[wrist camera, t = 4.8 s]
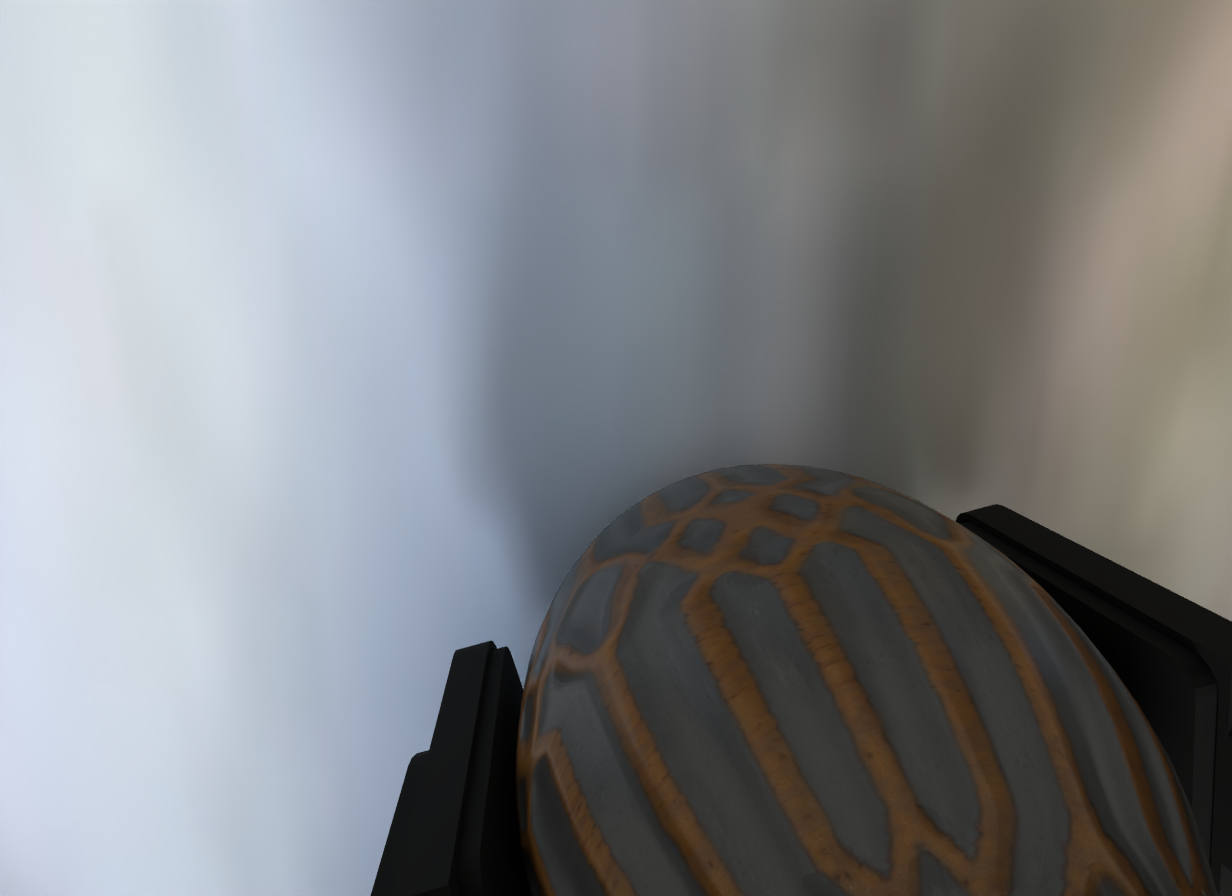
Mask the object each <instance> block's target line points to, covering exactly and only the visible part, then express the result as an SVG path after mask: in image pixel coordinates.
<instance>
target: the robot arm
mask: <svg viewBox="0 0 1232 896" xmlns="http://www.w3.org/2000/svg"><path fill="white" fill-rule="evenodd" d="M956 522H957V523H959V524H961V525H962V526H964V527H965V528H967V529H968V530H970V531H971V532H972V533H974V534H975V535H977V536H978V537H980V538H981V539H983V540H984V541H986V542H987V543H989V544H990V545H991V546H993V547H994V548H996V549H997V550H999V551H1000V552H1002V553H1003V554H1004V555H1006V556H1007V557H1008V558H1009V559H1010V560H1012V561H1013V562H1014V563H1015V564H1016V565H1017V566H1019V567H1020V568H1021V569H1022V570H1023V571H1024V572H1025V573H1027V574H1028V575H1029V576H1030V577H1031V578H1032V579H1033V580H1034V581H1035V582H1037V583H1038V584H1039V585H1040V586H1041V587H1042V588H1043V589H1044V590H1045V591H1046V592H1047V593H1048V594H1049V595H1050V596H1051V597H1052V598H1053V599H1054V600H1055V601H1056V602H1057V603H1058V604H1059V605H1060V606H1061V608H1062V609H1063V610H1064V611H1065V612H1066V613H1067V614H1068V615H1069V616H1070V617H1071V618H1072V619H1073V621H1074V622H1075V623H1076V624H1077V625H1078V626H1079V627H1080V628H1081V629H1082V631H1083V632H1084V633H1085V634H1086V636H1087V637H1088V638H1089V639H1090V641H1091V642H1092V643H1093V644H1094V646H1095V647H1096V648H1097V649H1098V650H1099V652H1100V653H1101V654H1102V655H1103V657H1104V658H1105V659H1106V660H1107V662H1108V663H1109V664H1110V666H1111V667H1112V668H1113V669H1114V671H1115V672H1116V673H1117V675H1118V676H1119V678H1120V679H1121V680H1122V682H1123V683H1124V685H1125V686H1126V688H1127V689H1128V690H1129V692H1130V693H1131V695H1132V696H1133V698H1134V699H1135V700H1136V702H1137V703H1138V705H1139V706H1140V708H1141V710H1142V711H1143V713H1144V714H1145V716H1146V718H1147V719H1148V721H1149V723H1150V724H1151V726H1152V728H1153V730H1154V731H1155V733H1156V735H1157V737H1158V738H1159V740H1160V742H1161V743H1162V745H1163V747H1164V749H1165V750H1166V752H1167V754H1168V756H1169V758H1170V760H1171V762H1172V765H1173V767H1174V769H1175V771H1176V773H1177V776H1178V778H1179V780H1180V783H1181V785H1182V787H1183V790H1184V792H1185V794H1186V797H1187V799H1188V801H1189V804H1190V806H1191V809H1192V812H1193V815H1194V818H1195V821H1196V824H1197V827H1198V830H1199V833H1200V836H1201V839H1202V843H1203V846H1204V849H1205V852H1206V855H1207V858H1208V862H1209V865H1210V868H1211V872H1212V876H1213V879H1214V883H1215V886H1216V890H1217V893H1218V896H1232V622H1231V621H1229V620H1227V619H1225V618H1223V617H1221V616H1219V615H1217V614H1216V613H1214V612H1212V611H1210V610H1208V609H1206V608H1204V607H1202V606H1200V605H1198V604H1196V603H1194V602H1192V601H1190V600H1188V599H1186V598H1184V597H1182V596H1180V595H1178V594H1176V593H1174V592H1172V591H1170V590H1168V589H1166V588H1164V587H1162V586H1160V585H1158V584H1156V583H1154V582H1152V581H1150V580H1148V579H1146V578H1144V577H1142V576H1140V575H1139V574H1137V573H1135V572H1133V571H1131V570H1129V569H1127V568H1125V567H1123V566H1121V565H1119V564H1117V563H1115V562H1113V561H1111V560H1109V559H1107V558H1105V557H1103V556H1101V555H1099V554H1097V553H1095V552H1093V551H1091V550H1089V549H1087V548H1085V547H1083V546H1081V545H1079V544H1077V543H1075V542H1073V541H1071V540H1069V539H1067V538H1065V537H1063V536H1061V535H1060V534H1058V533H1056V532H1054V531H1052V530H1050V529H1048V528H1046V527H1044V526H1042V525H1040V524H1038V523H1036V522H1034V521H1032V520H1030V519H1028V518H1026V517H1024V516H1022V515H1020V514H1018V513H1016V512H1014V511H1012V510H1010V509H1008V508H1006V507H1004V506H1002V505H998V504H996V505H991V506H987V507H983V508H980V509H976V510H972V511H968V512H965V513H961V514H960V515H959V516H958V517H957V519H956ZM522 696H523V688H522V685H521V682H520V679H519V676H518V673H517V670H516V667H515V664H514V661H513V658H512V655H511V652H510V650H509V648H508V647H507V646H506V647H502V648H499V649H497V647H496V645H495V644H494V642H493V641H488V642H484V643H481V644H477V645H473V646H470V647H466V648H462V649H459V650H456V651H455V653H454V655H453V659H452V663H451V667H450V671H449V675H448V679H447V683H446V687H445V691H444V695H443V699H442V702H441V706H440V710H439V714H438V718H437V722H436V726H435V730H434V734H433V738H432V742H431V746H430V749H429V750H428V751H424V752H420V753H417V754H416V755H414V756H413V757H412V759H411V761H410V763H409V766H408V769H407V772H406V776H405V779H404V783H403V786H402V790H401V793H400V796H399V800H398V803H397V807H396V810H395V814H394V817H393V821H392V824H391V827H390V831H389V834H388V838H387V841H386V845H385V848H384V852H383V855H382V858H381V862H380V865H379V869H378V872H377V876H376V879H375V883H374V886H373V890H372V893H371V896H531V894H530V889H529V885H528V880H527V875H526V871H525V866H524V861H523V856H522V851H521V844H520V835H519V827H518V818H517V808H516V746H517V735H518V725H519V717H520V708H521V701H522Z"/></svg>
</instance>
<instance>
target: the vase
mask: <svg viewBox="0 0 1232 896" xmlns="http://www.w3.org/2000/svg"><path fill="white" fill-rule="evenodd" d="M516 808H517V818H518V827H519V835H520V844H521V851H522V856H523V861H524V866H525V871H526V875H527V880H528V885H529V889H530V894H531V896H1218V893H1217V890H1216V886H1215V883H1214V879H1213V876H1212V872H1211V868H1210V865H1209V862H1208V858H1207V855H1206V852H1205V849H1204V846H1203V843H1202V839H1201V836H1200V833H1199V830H1198V827H1197V824H1196V821H1195V818H1194V815H1193V812H1192V809H1191V806H1190V804H1189V801H1188V799H1187V797H1186V794H1185V792H1184V790H1183V787H1182V785H1181V783H1180V780H1179V778H1178V776H1177V773H1176V771H1175V769H1174V767H1173V765H1172V762H1171V760H1170V758H1169V756H1168V754H1167V752H1166V750H1165V749H1164V747H1163V745H1162V743H1161V742H1160V740H1159V738H1158V737H1157V735H1156V733H1155V731H1154V730H1153V728H1152V726H1151V724H1150V723H1149V721H1148V719H1147V718H1146V716H1145V714H1144V713H1143V711H1142V710H1141V708H1140V706H1139V705H1138V703H1137V702H1136V700H1135V699H1134V698H1133V696H1132V695H1131V693H1130V692H1129V690H1128V689H1127V688H1126V686H1125V685H1124V683H1123V682H1122V680H1121V679H1120V678H1119V676H1118V675H1117V673H1116V672H1115V671H1114V669H1113V668H1112V667H1111V666H1110V664H1109V663H1108V662H1107V660H1106V659H1105V658H1104V657H1103V655H1102V654H1101V653H1100V652H1099V650H1098V649H1097V648H1096V647H1095V646H1094V644H1093V643H1092V642H1091V641H1090V639H1089V638H1088V637H1087V636H1086V634H1085V633H1084V632H1083V631H1082V629H1081V628H1080V627H1079V626H1078V625H1077V624H1076V623H1075V622H1074V621H1073V619H1072V618H1071V617H1070V616H1069V615H1068V614H1067V613H1066V612H1065V611H1064V610H1063V609H1062V608H1061V606H1060V605H1059V604H1058V603H1057V602H1056V601H1055V600H1054V599H1053V598H1052V597H1051V596H1050V595H1049V594H1048V593H1047V592H1046V591H1045V590H1044V589H1043V588H1042V587H1041V586H1040V585H1039V584H1038V583H1037V582H1035V581H1034V580H1033V579H1032V578H1031V577H1030V576H1029V575H1028V574H1027V573H1025V572H1024V571H1023V570H1022V569H1021V568H1020V567H1019V566H1017V565H1016V564H1015V563H1014V562H1013V561H1012V560H1010V559H1009V558H1008V557H1007V556H1006V555H1004V554H1003V553H1002V552H1000V551H999V550H997V549H996V548H994V547H993V546H991V545H990V544H989V543H987V542H986V541H984V540H983V539H981V538H980V537H978V536H977V535H975V534H974V533H972V532H971V531H970V530H968V529H967V528H965V527H964V526H962V525H961V524H959V523H957V522H955V521H953V520H952V519H950V518H948V517H946V516H944V515H943V514H941V513H939V512H937V511H935V510H934V509H932V508H930V507H928V506H926V505H924V504H923V503H921V502H919V501H917V500H915V499H912V498H910V497H908V496H906V495H903V494H901V493H899V492H897V491H894V490H892V489H890V488H887V487H885V486H883V485H880V484H878V483H875V482H872V481H869V480H867V479H864V478H861V477H857V476H853V475H849V474H845V473H841V472H836V471H831V470H826V469H820V468H814V467H808V466H799V465H787V464H764V465H746V466H736V467H729V468H723V469H718V470H714V471H709V472H705V473H702V474H699V475H696V476H692V477H689V478H687V479H684V480H682V481H679V482H676V483H674V484H672V485H670V486H667V487H665V488H663V489H661V490H659V491H657V492H655V493H654V494H652V495H650V496H648V497H647V498H645V499H643V500H642V501H640V502H639V503H637V504H636V505H634V506H633V507H631V508H630V509H628V510H627V511H626V512H625V513H623V514H622V515H621V516H619V517H618V518H617V519H616V520H615V521H613V522H612V523H611V524H610V525H609V526H608V527H607V528H606V529H605V530H604V531H603V532H602V533H601V534H600V535H599V536H598V537H597V538H596V539H595V540H594V541H593V542H592V543H591V544H590V546H589V547H588V548H587V549H586V551H585V552H584V553H583V554H582V556H581V557H580V558H579V560H578V561H577V562H576V564H575V565H574V566H573V568H572V569H571V571H570V572H569V574H568V575H567V577H566V578H565V579H564V581H563V583H562V585H561V586H560V588H559V590H558V592H557V593H556V595H555V597H554V599H553V601H552V604H551V606H550V608H549V610H548V612H547V614H546V616H545V619H544V621H543V623H542V625H541V628H540V630H539V633H538V636H537V638H536V641H535V644H534V647H533V650H532V654H531V658H530V661H529V666H528V670H527V675H526V680H525V685H524V690H523V696H522V701H521V708H520V717H519V725H518V735H517V746H516Z"/></svg>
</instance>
